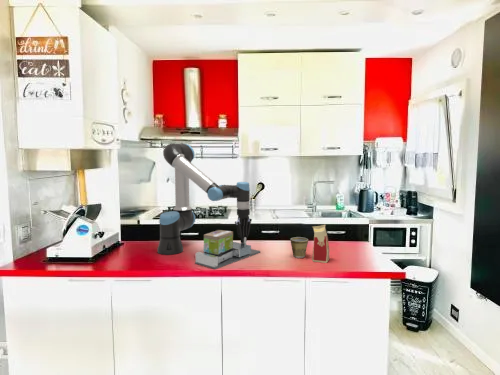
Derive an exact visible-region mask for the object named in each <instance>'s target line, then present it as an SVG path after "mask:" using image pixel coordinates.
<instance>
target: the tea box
mask: <svg viewBox="0 0 500 375" xmlns="http://www.w3.org/2000/svg"><path fill="white" fill-rule="evenodd" d="M233 242H234V231H231V230H223V229H216V230H215V231H214V230H213V231H211V232H207V233H205V234H203V253H206V254H210V255H214V256H218V264H219V263H220V262H222V261H224V260H226V259H229V258H231V257H233Z"/></svg>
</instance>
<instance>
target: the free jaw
mask: <svg viewBox="0 0 500 375" xmlns="http://www.w3.org/2000/svg"><path fill="white" fill-rule="evenodd" d="M251 249H252V245H250V244H247V243H246V244H242V243H241V242H235V241H233V256H236V257H242V256H244V255H247V254H250V253H251Z"/></svg>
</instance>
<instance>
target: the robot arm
mask: <svg viewBox="0 0 500 375" xmlns="http://www.w3.org/2000/svg"><path fill="white" fill-rule="evenodd" d="M194 150H195V149H194V148H193V147H192V146H191V145H189V144H187V143H169V144H167V145H166V146H165V147H164V149H163V152H162V153H163V159H164V160H165V162H166V163H168V164H169V165H170V166H171V167H172V168H174V185H175V186H174V188H175V191H174V192H175V193H174V195H175V198H174V199H175V206H174V207H173V209H172V211H165V212H162V213H161V214H160V216H159V220H158V223H159V241H158V245H157V253H158V254H159V255H176V254H180V253H183V252H184V246H183V242H182V240H181V231H184V230H188V229H190V228H192V227H193V225H194V224H195V222H196V215H195V213H194V211H193V208H192V207H191V206H190V181H192V182H193V183H194V184H196V186H197V187H199V188H200V189H201V190H202V191H204V192H205V193H206V194H207V198H208V199H209V200H210V201H212V202H217V201H222V200H225V199H228V198H229V199H236V208H237V209H236V216H237V220H236V221H234V224H235V227H236V234H237V237H238V238H240V243H242V244H246V245H247V240H248V239H247V238H248V237H249V235H250V230H251V224H252V218H250V213H251V211H250V210H251V209H250V207H251V206H250V205H251V204H250V200H251V198H250V196H251V195H250V191H251V189H250V183H249V182H247V181H238V182H236V185H235V184H219V185H218V184H217V183H216V182H215V181H213V180H212V179H211V178H210V177H208V175H206V174H205V173H204V172H203V171H201V170H200V169H199V168H197V167H196V166H195V165H194V164H193V163H192V161H193V160H194V159H195V151H194Z"/></svg>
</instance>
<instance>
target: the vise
mask: <svg viewBox="0 0 500 375" xmlns="http://www.w3.org/2000/svg"><path fill="white" fill-rule="evenodd" d="M257 254H261V250H257V249H253V248H251V253H250V254H247V255H244V256H242V257H236V256H233V257H231V258H229V259H226V260H224V261H222V262H220V263H219V264H218V256H214V255H210V254H206V253H204V252H201V251H197V252H195V262H194V264H195V265H199V266H203V267H207V268H210V269H213V270H217V269H219V268H222V267H225V266H228V265H231V264H233V262H234V263H236V262H238V261H239V262H240V261H241V259H242V260H244V259H247V258H250V257H252V255H253V256H255V255H257ZM249 256H250V257H249Z"/></svg>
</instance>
